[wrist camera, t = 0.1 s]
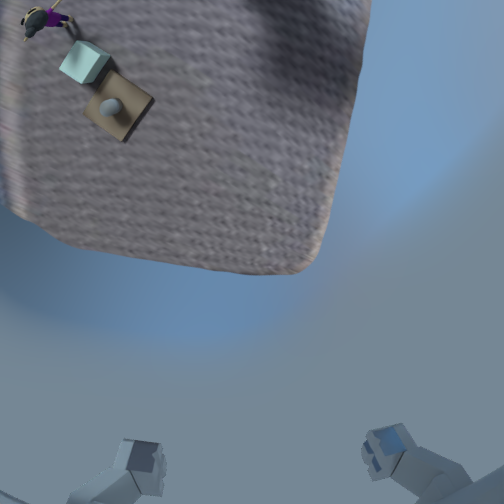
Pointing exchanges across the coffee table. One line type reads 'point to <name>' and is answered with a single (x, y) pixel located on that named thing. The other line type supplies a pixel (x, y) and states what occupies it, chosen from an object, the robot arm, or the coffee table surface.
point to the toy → (43, 20)
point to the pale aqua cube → (84, 62)
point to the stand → (117, 105)
